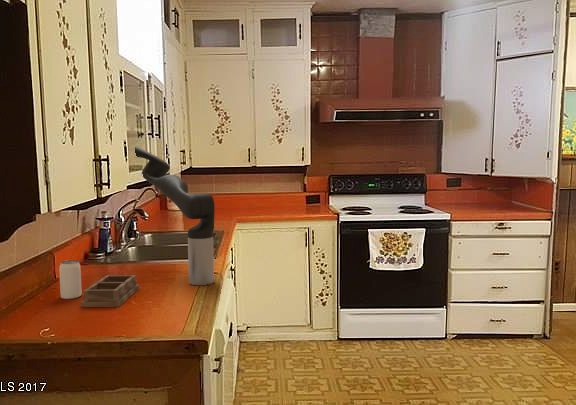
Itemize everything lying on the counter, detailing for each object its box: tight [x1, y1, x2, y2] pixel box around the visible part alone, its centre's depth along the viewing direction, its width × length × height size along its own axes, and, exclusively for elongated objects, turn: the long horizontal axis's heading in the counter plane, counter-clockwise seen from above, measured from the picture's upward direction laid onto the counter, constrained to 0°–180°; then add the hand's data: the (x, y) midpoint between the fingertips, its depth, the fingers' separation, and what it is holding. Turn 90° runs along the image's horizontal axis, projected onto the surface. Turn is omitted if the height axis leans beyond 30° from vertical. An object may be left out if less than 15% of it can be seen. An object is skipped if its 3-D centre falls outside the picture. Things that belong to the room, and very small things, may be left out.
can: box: [58, 259, 83, 300], centre depth 162 cm, size 6×6×12 cm
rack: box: [80, 274, 140, 308], centre depth 162 cm, size 21×12×5 cm, turn 1°
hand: (84, 194), depth 169 cm, fingers open, 8 cm apart
